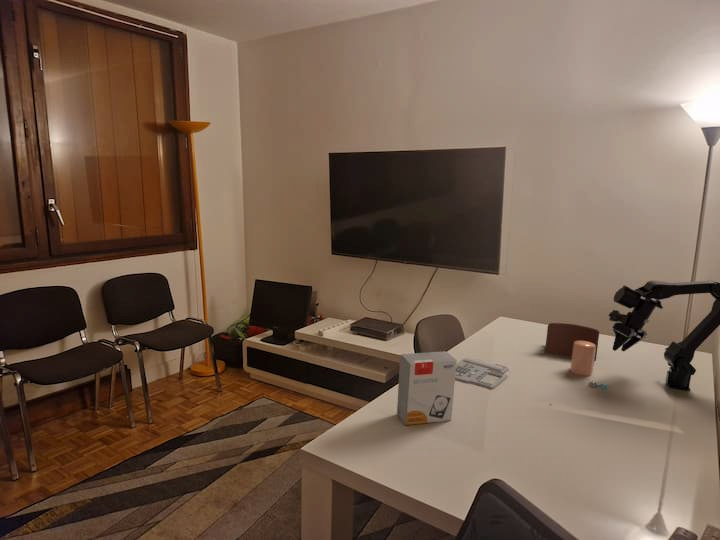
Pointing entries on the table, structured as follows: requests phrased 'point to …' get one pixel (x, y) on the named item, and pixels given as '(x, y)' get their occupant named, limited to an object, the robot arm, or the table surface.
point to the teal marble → (603, 386)
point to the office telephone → (479, 372)
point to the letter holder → (568, 338)
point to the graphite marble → (593, 384)
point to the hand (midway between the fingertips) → (618, 350)
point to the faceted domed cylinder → (583, 358)
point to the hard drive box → (426, 387)
